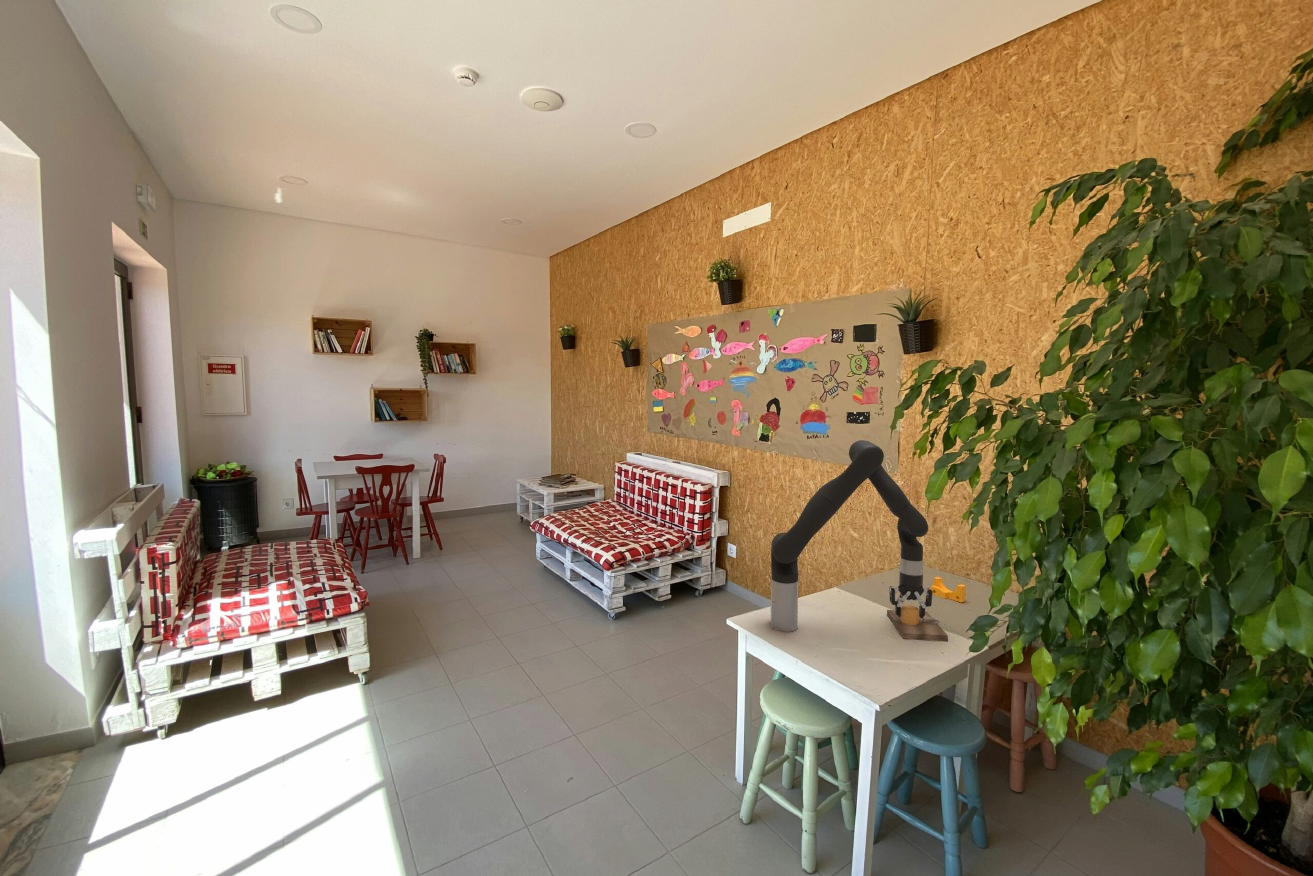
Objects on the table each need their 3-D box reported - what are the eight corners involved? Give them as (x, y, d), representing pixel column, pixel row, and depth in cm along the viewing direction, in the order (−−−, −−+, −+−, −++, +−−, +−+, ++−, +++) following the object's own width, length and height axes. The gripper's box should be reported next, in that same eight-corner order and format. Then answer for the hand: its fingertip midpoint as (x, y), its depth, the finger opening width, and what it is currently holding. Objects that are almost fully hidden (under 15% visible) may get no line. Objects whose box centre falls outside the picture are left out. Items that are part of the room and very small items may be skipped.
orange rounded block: (903, 624, 188) (904, 610, 187) (899, 618, 193) (899, 604, 193) (920, 625, 187) (920, 611, 186) (915, 618, 192) (915, 605, 192)
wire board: (903, 638, 181) (903, 623, 181) (886, 614, 201) (887, 600, 200) (949, 641, 179) (949, 625, 178) (928, 616, 199) (928, 602, 198)
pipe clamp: (930, 593, 222) (931, 578, 222) (937, 591, 224) (937, 576, 224) (958, 603, 212) (959, 587, 211) (965, 601, 214) (965, 585, 213)
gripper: (892, 573, 186) (891, 620, 187) (937, 575, 184) (935, 622, 185) (886, 566, 193) (885, 611, 195) (929, 568, 191) (927, 613, 192)
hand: (909, 616), depth 190 cm, fingers open, 7 cm apart
